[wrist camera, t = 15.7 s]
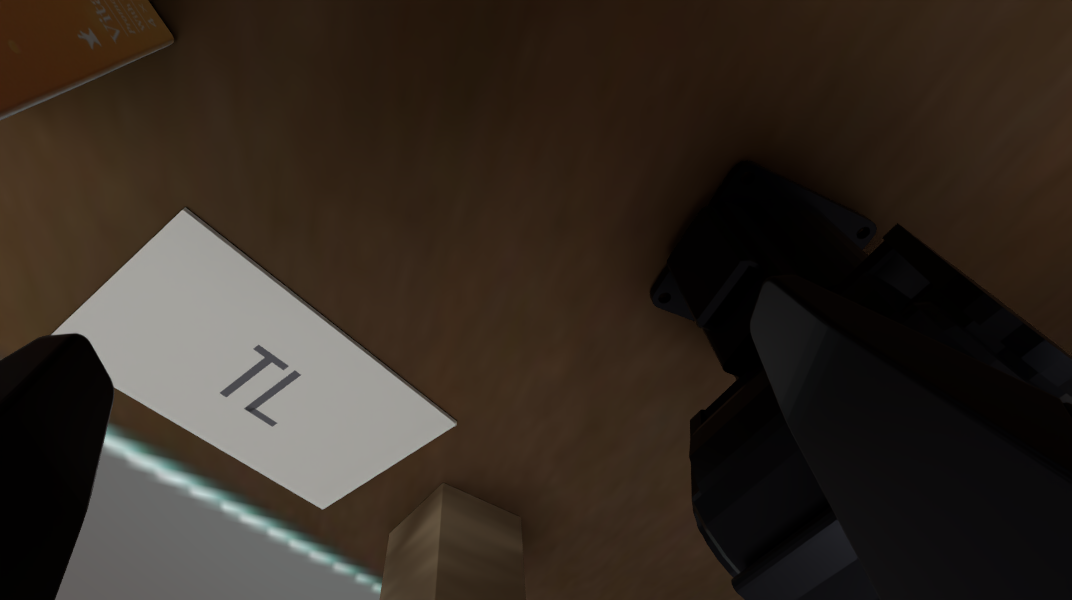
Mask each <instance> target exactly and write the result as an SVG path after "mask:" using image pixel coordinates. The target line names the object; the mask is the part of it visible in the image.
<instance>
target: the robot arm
mask: <svg viewBox="0 0 1072 600" xmlns="http://www.w3.org/2000/svg"><path fill="white" fill-rule="evenodd" d="M748 171H751V174H750V177H749V178H747V179H746V180H743V181H742V180H741V177H742V175H743V174H744V173H745V172H748ZM863 227H864V229H863V231H862V232H860V233H858V234H857V232H858V230H859V229H861V228H863ZM876 229H877V228H876V225H875V224H874V223H873V222H872V221H871V220H869V219H868V218H867V217H865V216H863V215H861V214H859V213H857V212H855V211H853V210H851V209H849V208H847V207H845V206H842V205H840V204H838V203H836V202H834V201H832V200H830V199H828V198H826V197H824V196H822V195H820V194H818V193H816V192H814V191H812V190H810V189H808V188H806V187H804V186H801V185H799V184H797V183H795V182H793V181H791V180H789V179H787V178H785V177H783V176H781V175H779V174H777V173H775V172H773V171H771V170H769V169H767V168H765V167H762V166H760V165H758V164H756V163H754V162H752V161H748V160H746V161H741V162H740V163H738V164H736V165H735V166H734V167H733V168H732V170H731V171H730V173H729V174H728V176H727V177H726V179H725V180H724V182H723V183H722V185H721V186H720V188H719V189H718V191H717V192H716V194H715V195H714V197H713V198H712V200H711V201H710V203H709V204H708V206H706V207H704V208H702V209H701V210H700V212H699V213H698V215H697V216H696V218H695V219H694V221H693V222H692V224H691V225H690V227H689V228H688V230H687V231H686V233H685V234H684V236H683V237H682V239H681V240H680V242H679V243H678V245H677V246H676V248H675V249H674V251H673V252H672V254H671V255H670V257H669V258H668V260H667V264H668V265H667V267H666V268H665V270H664V271H663V273H662V274H661V275H660V277H659V278H658V280H657V281H656V283H655V284H654V286H653V287H652V289H651V291H650V297H651V299H652V302H653V304H654V305H655V306H656V307H658V308H661V309H663V310H666V311H669V312H671V313H674V314H677V315H679V316H682V317H685V318H687V319H690V320H693V321H695V322H696V324H697V326H698V327H700V328H702V329H703V331H704V333H705V335H706V336H707V338H708V340H709V342H710V344H711V346H712V348H713V350H714V352H715V354H716V356H717V358H718V360H719V362H720V364H721V366H722V368H723V370H724V371H725V372H727V373H730V374H732V375H734V376H735V378H736V380H737V381H735V382H734V383H733V384H732V385H731V386H730V387H729V388H728V389H727V390H726V391H725V392H724V393H723V394H722V395H721V396H720V397H719V398H717V399H716V400H715V401H714V402H713V403H712V404H711V405H710V406H709V407H708V408H707V409H706V410H700V411H699V412H698V413H697V414H696V415H695V416H694V417H693V418H692V419H691V420H690V453H689V458H690V461H691V484H692V505H693V512H694V516H695V518H696V521H697V526H698V529H699V531H700V532H701V533H702V535H703V537H704V539H705V541H706V543H707V544H708V546H709V547H710V549H711V550H712V552H713V553H714V555H715V556H716V558H717V559H718V560H719V562H720V563H721V564H722V565H723V566H724V568H725V569H726V570H727V571H728V572H729V574H730V575H732V576H733V577H734V578H733V579H732V585H733V588H734V589H735V591H736V592H737V593H738V594H739V595H740V596H741V597H743V598H744V599H745V600H1072V357H1071V356H1070V355H1069V354H1067V353H1066V352H1065V351H1064V350H1063V349H1061V348H1060V347H1059V346H1058V345H1056V344H1055V343H1054V342H1053V341H1051V340H1050V339H1049V338H1047V337H1046V336H1045V335H1043V334H1042V333H1041V332H1040V331H1038V330H1037V329H1036V328H1034V327H1033V326H1032V325H1031V324H1029V323H1028V322H1027V321H1025V320H1024V319H1023V318H1021V317H1020V316H1019V315H1018V314H1016V313H1015V312H1014V311H1012V310H1011V309H1010V308H1008V307H1007V306H1006V305H1005V304H1003V303H1002V302H1001V301H999V300H998V299H997V298H996V297H994V296H993V295H992V294H990V293H989V292H988V291H986V290H985V289H984V288H982V287H981V286H980V285H978V284H977V283H976V282H974V281H973V280H972V279H971V278H969V277H968V276H967V275H965V274H964V273H963V272H961V271H960V270H959V269H957V268H956V267H955V266H953V265H952V264H951V263H949V262H948V261H947V260H945V259H944V258H943V257H941V256H940V255H939V254H937V253H936V252H935V251H933V250H932V249H931V248H930V247H928V246H927V245H926V244H924V243H923V242H922V241H920V240H919V239H918V238H916V237H915V236H914V235H912V234H911V233H910V232H908V231H907V230H906V229H904V228H903V227H902V226H900V225H899V224H898V223H897V224H896V225H895V226H894V227H893V228H892V229H891V230H890V231H889V232H888V233H887V234H886V235H885V236H884V237H882V238H883V239H884V240H885V241H884V242H883V243H882V244H881V245H880V246H879V247H877V248H876V249H875V250H874V251H873V252H872V253H871V254H870V255H869V256H868V255H867V254H866V253H865V252H864V251H863V249H864V247H865V246H866V245H867V244H868V243H869V242H870V240H871V239H872V238H873V237H874V235H875V233H876ZM662 293H668V295H667V296H666V297H663V298H659V296H660V295H661V294H662ZM113 400H114V386H113V383H112V380H111V378H110V376H109V374H108V373H107V371H106V369H105V367H104V365H103V364H102V362H101V360H100V358H99V357H98V355H97V353H96V351H95V350H94V348H93V346H92V344H91V343H90V341H89V340H88V339H87V338H86V337H85V336H83V335H81V334H78V333H71V334H58V335H47V336H42V337H39V338H37V339H35V340H34V341H32V342H30V343H29V344H27V345H25V346H24V347H22V348H20V349H19V350H17V351H15V352H14V353H12V354H10V355H9V356H7V357H5V358H4V359H2V360H1V361H0V600H55V598H56V595H57V592H58V590H59V587H60V584H61V582H62V579H63V576H64V573H65V571H66V568H67V565H68V563H69V559H70V557H71V554H72V552H73V548H74V546H75V543H76V540H77V538H78V535H79V532H80V530H81V527H82V524H83V521H84V518H85V515H86V512H87V509H88V505H89V501H90V498H91V494H92V490H93V486H94V482H95V477H96V473H97V469H98V465H99V460H100V456H101V452H102V447H103V443H104V439H105V435H106V430H107V426H108V422H109V418H110V413H111V409H112V405H113Z"/></svg>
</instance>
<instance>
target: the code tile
mask: <svg viewBox="0 0 1072 600" xmlns="http://www.w3.org/2000/svg"><path fill="white" fill-rule="evenodd" d="M71 333H78V334H81V335H83V336H85V337H86V338H87V339H88V340H89V341H90V343H91V344H92V346H93V348H94V350H95V351H96V353H97V355H98V357H99V358H100V360H101V362H102V364H103V365H104V367H105V369H106V371H107V373H108V374H109V376H110V378H111V380H112V383H113V386H114V387H115V388H116V389H118V390H120V391H122V392H123V393H125V394H127V395H128V396H130V397H132V398H133V399H135V400H137V401H139V402H140V403H142V404H144V405H145V406H147V407H149V408H150V409H152V410H154V411H156V412H157V413H159V414H161V415H162V416H164V417H166V418H168V419H169V420H171V421H173V422H174V423H176V424H178V425H179V426H181V427H183V428H185V429H186V430H188V431H190V432H191V433H193V434H195V435H197V436H198V437H200V438H202V439H203V440H205V441H207V442H208V443H210V444H212V445H214V446H215V447H217V448H219V449H220V450H222V451H224V452H225V453H227V454H229V455H231V456H232V457H234V458H236V459H237V460H239V461H241V462H243V463H244V464H246V465H248V466H249V467H251V468H253V469H254V470H256V471H258V472H260V473H261V474H263V475H265V476H266V477H268V478H270V479H271V480H273V481H275V482H277V483H278V484H280V485H282V486H283V487H285V488H287V489H289V490H290V491H292V492H294V493H295V494H297V495H299V496H300V497H302V498H304V499H306V500H307V501H309V502H311V503H312V504H314V505H316V506H317V507H319V508H321V509H324V508H326V507H328V506H329V505H331V504H332V503H334V502H335V501H337V500H339V499H340V498H342V497H343V496H345V495H347V494H348V493H350V492H351V491H353V490H354V489H356V488H358V487H359V486H361V485H362V484H364V483H365V482H367V481H369V480H370V479H372V478H373V477H375V476H376V475H378V474H380V473H381V472H383V471H384V470H386V469H388V468H389V467H391V466H392V465H394V464H395V463H397V462H399V461H400V460H402V459H403V458H405V457H406V456H408V455H410V454H411V453H413V452H414V451H416V450H417V449H419V448H421V447H422V446H424V445H425V444H427V443H429V442H430V441H432V440H433V439H435V438H436V437H438V436H440V435H441V434H443V433H444V432H446V431H447V430H449V429H451V428H452V427H454V426H455V425H457V421H456V420H455V419H453V418H452V417H451V416H449V415H448V414H447V413H446V412H444V411H443V410H442V409H441V408H439V407H438V406H437V405H435V404H434V403H433V402H432V401H430V400H429V399H428V398H427V397H425V396H424V395H423V394H422V393H420V392H419V391H418V390H416V389H415V388H414V387H413V386H411V385H410V384H409V383H408V382H406V381H405V380H404V379H403V378H401V377H400V376H399V375H397V374H396V373H395V372H394V371H392V370H391V369H390V368H389V367H387V366H386V365H385V364H384V363H382V362H381V361H380V360H378V359H377V358H376V357H375V356H373V355H372V354H371V353H370V352H368V351H367V350H366V349H364V348H363V347H362V346H361V345H359V344H358V343H357V342H356V341H354V340H353V339H352V338H351V337H349V336H348V335H347V334H345V333H344V332H343V331H342V330H340V329H339V328H338V327H337V326H335V325H334V324H333V323H332V322H330V321H329V320H328V319H326V318H325V317H324V316H323V315H321V314H320V313H319V312H318V311H316V310H315V309H314V308H313V307H311V306H310V305H309V304H307V303H306V302H305V301H304V300H302V299H301V298H300V297H299V296H297V295H296V294H295V293H293V292H292V291H291V290H290V289H288V288H287V287H286V286H285V285H283V284H282V283H281V282H280V281H278V280H277V279H276V278H274V277H273V276H272V275H271V274H269V273H268V272H267V271H266V270H264V269H263V268H262V267H261V266H259V265H258V264H257V263H255V262H254V261H253V260H252V259H250V258H249V257H248V256H247V255H245V254H244V253H243V252H242V251H240V250H239V249H238V248H236V247H235V246H234V245H233V244H231V243H230V242H229V241H228V240H226V239H225V238H224V237H222V236H221V235H220V234H219V233H217V232H216V231H215V230H214V229H212V228H211V227H210V226H209V225H207V224H206V223H205V222H203V221H202V220H201V219H200V218H198V217H197V216H196V215H195V214H193V213H192V212H191V211H190V210H188V209H187V208H186V207H185V208H184V209H183V210H182V211H181V212H180V213H179V214H177V215H176V216H175V217H174V218H173V219H172V220H171V221H170V222H169V223H168V224H167V225H166V226H165V227H164V228H163V229H162V230H161V231H160V232H159V233H158V234H156V235H155V236H154V237H153V238H152V239H151V240H150V241H149V242H148V243H147V244H146V245H145V246H144V247H143V248H142V249H141V250H140V251H139V252H138V253H136V254H135V255H134V256H133V257H132V258H131V259H130V260H129V261H128V262H127V263H126V264H125V265H124V266H123V267H122V268H121V269H120V270H119V271H118V272H117V273H115V274H114V275H113V276H112V277H111V278H110V279H109V280H108V281H107V282H106V283H105V284H104V285H103V286H102V287H101V288H100V289H99V290H98V291H97V292H96V293H94V294H93V295H92V296H91V297H90V298H89V299H88V300H87V301H86V302H85V303H84V304H83V305H82V306H81V307H80V308H79V309H78V310H77V311H76V312H75V313H73V314H72V315H71V316H70V317H69V318H68V319H67V320H66V321H65V322H64V323H63V324H62V325H61V326H60V327H59V328H58V329H57V330H56V331H55V332H54V333H52V334H51V335H58V334H71Z"/></svg>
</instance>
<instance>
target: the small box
mask: <svg viewBox="0 0 1072 600" xmlns="http://www.w3.org/2000/svg"><path fill="white" fill-rule="evenodd" d="M172 43H174V38H173V36H172V34H171V32H170V31H169V29H168V28H167V27H166V25H165V24H164V22H163V21H162V19H161V18H160V17H159V15H158V14H157V12H156V11H155V9H154V8H153V7H152V5H151V4H150V2H149V1H148V0H0V120H2V119H4V118H6V117H9V116H11V115H13V114H16V113H18V112H20V111H23V110H25V109H27V108H30V107H32V106H34V105H37V104H39V103H41V102H44V101H46V100H48V99H51V98H53V97H55V96H58V95H60V94H62V93H64V92H67V91H69V90H71V89H74V88H76V87H78V86H80V85H83V84H85V83H87V82H90V81H92V80H94V79H96V78H99V77H101V76H103V75H105V74H108V73H110V72H112V71H114V70H116V69H118V68H120V67H123V66H125V65H127V64H129V63H131V62H134V61H136V60H138V59H140V58H142V57H145V56H147V55H149V54H151V53H154V52H156V51H158V50H160V49H163V48H165V47H167V46H169V45H171V44H172Z"/></svg>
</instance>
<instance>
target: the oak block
mask: <svg viewBox="0 0 1072 600" xmlns="http://www.w3.org/2000/svg"><path fill="white" fill-rule="evenodd" d="M380 600H526V595H525V578H524V562H523V545H522V528H521V517H519V516H517V515H515V514H512V513H510V512H508V511H506V510H503V509H501V508H499V507H497V506H494V505H492V504H490V503H488V502H485V501H483V500H481V499H479V498H476V497H474V496H472V495H470V494H467V493H465V492H463V491H461V490H458V489H456V488H454V487H452V486H449V485H447V484H445V483H442V484H441V485H440V486H439V487H438V488H437V489H436V490H435V491H434V492H433V493H432V494H431V495H430V496H429V497H427V498H426V499H425V500H424V501H423V502H422V503H421V504H420V505H419V506H418V507H417V508H416V509H415V510H414V511H413V512H412V513H411V514H410V515H408V516H407V517H406V518H405V519H404V520H403V521H402V522H401V523H400V524H399V525H398V526H397V527H396V528H395V529H394V530H393V531H392V532H390V534H389V541H388V547H387V554H386V561H385V567H384V574H383V581H382V587H381V594H380Z"/></svg>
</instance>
